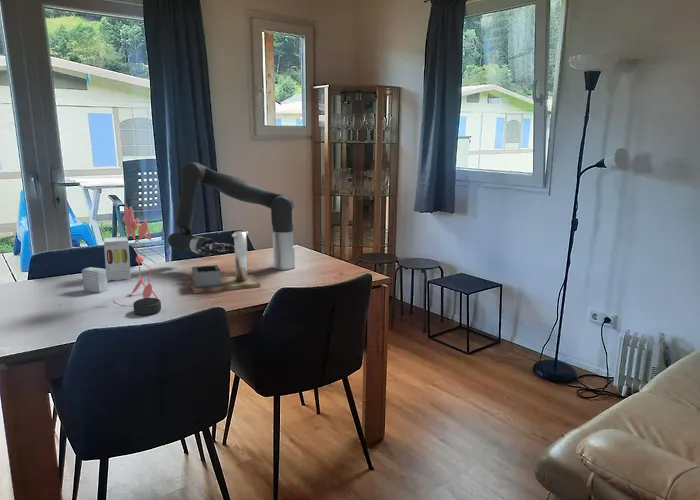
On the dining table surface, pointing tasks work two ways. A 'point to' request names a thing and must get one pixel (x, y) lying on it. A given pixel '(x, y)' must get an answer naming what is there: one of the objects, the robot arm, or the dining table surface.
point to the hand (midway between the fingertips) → (226, 251)
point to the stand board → (228, 285)
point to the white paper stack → (94, 279)
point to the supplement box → (117, 258)
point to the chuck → (206, 276)
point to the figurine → (130, 229)
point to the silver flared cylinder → (241, 255)
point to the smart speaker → (147, 306)
